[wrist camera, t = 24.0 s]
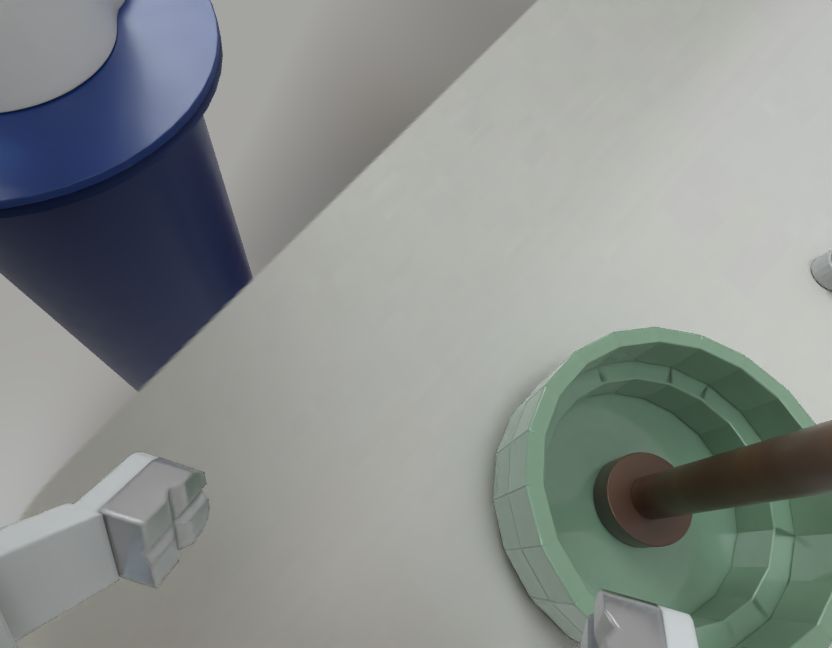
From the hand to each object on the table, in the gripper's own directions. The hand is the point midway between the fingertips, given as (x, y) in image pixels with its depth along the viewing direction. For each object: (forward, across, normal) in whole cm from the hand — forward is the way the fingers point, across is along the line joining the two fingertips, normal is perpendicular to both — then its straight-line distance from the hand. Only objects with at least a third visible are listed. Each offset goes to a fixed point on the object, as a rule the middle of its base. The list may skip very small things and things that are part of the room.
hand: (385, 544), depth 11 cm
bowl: (+16, -9, +12) cm, 21 cm away
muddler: (+15, -9, +11) cm, 21 cm away
